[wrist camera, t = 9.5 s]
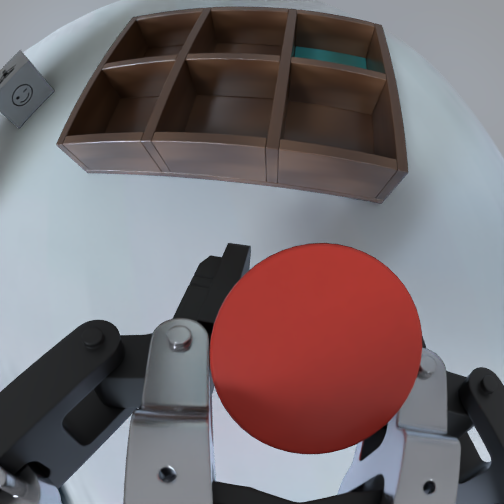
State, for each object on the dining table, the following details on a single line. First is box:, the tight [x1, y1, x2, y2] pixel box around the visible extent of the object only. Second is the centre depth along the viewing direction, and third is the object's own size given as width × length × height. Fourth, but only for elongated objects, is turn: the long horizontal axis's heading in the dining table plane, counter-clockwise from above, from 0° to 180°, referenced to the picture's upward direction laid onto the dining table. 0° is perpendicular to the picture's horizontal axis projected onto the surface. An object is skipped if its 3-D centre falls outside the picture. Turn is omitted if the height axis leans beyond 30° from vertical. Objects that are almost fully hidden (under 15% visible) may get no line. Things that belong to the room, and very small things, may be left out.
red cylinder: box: [209, 243, 422, 454], centre depth 9 cm, size 4×4×9 cm
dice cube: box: [0, 51, 54, 128], centre depth 18 cm, size 5×5×5 cm
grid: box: [56, 7, 408, 203], centre depth 16 cm, size 19×13×4 cm
